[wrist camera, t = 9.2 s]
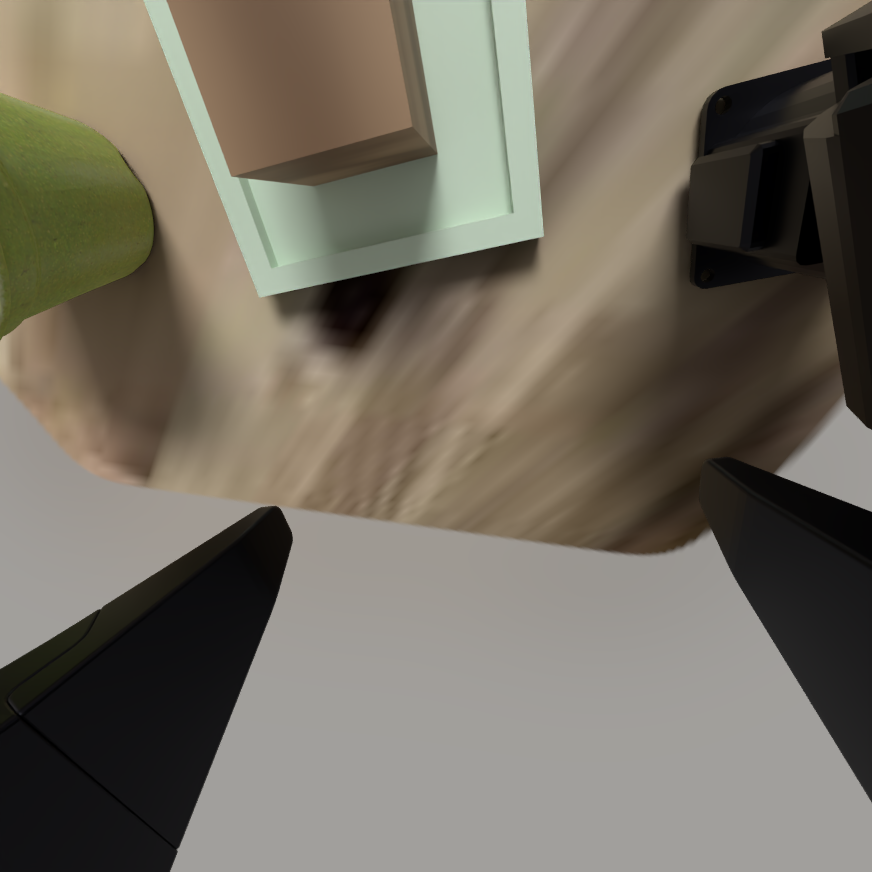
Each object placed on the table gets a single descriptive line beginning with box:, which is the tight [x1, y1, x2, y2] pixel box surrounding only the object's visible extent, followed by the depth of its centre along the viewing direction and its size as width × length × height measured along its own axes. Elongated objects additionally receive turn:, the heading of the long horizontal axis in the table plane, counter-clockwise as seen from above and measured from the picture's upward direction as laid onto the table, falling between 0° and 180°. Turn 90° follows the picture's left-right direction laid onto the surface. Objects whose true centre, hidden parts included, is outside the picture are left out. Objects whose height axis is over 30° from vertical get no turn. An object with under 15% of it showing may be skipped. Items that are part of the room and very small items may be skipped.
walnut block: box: [166, 0, 438, 186], centre depth 12 cm, size 5×5×6 cm
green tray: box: [144, 0, 544, 298], centre depth 15 cm, size 12×12×2 cm
